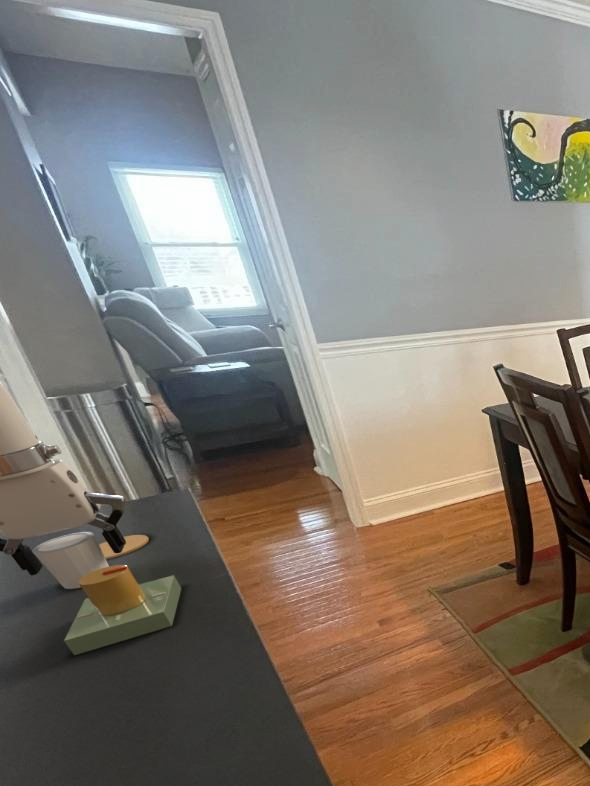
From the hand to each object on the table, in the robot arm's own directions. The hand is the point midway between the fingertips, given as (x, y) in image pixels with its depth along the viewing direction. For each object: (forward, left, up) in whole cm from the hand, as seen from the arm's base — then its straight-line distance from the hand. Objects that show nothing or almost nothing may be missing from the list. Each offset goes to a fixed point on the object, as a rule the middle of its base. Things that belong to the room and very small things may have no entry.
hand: (79, 560), depth 95 cm
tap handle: (+8, -20, -1) cm, 21 cm away
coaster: (+2, +11, -3) cm, 12 cm away
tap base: (+8, -20, -3) cm, 22 cm away
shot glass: (0, 0, -4) cm, 4 cm away
